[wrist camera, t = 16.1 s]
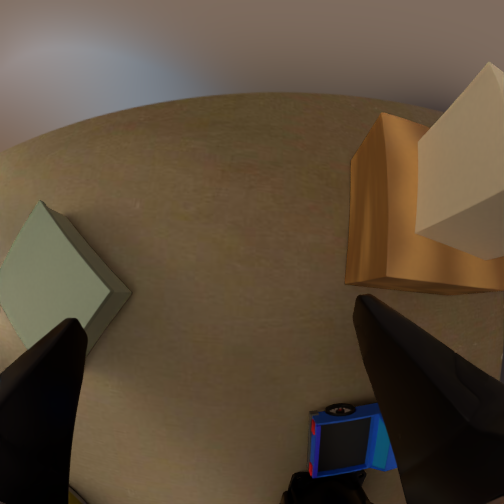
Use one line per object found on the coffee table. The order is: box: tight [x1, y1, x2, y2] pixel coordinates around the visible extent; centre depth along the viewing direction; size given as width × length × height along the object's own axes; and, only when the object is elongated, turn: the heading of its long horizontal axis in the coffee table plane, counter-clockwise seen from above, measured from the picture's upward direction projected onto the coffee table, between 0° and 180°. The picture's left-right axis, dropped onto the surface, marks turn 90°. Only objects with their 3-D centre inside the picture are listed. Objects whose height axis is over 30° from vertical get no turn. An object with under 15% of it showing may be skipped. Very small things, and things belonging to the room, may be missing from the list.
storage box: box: [0, 200, 132, 356], centre depth 18 cm, size 10×9×4 cm
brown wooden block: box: [345, 112, 504, 295], centre depth 17 cm, size 10×10×7 cm
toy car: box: [307, 403, 398, 478], centre depth 15 cm, size 7×12×5 cm, turn 92°
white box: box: [415, 62, 504, 260], centre depth 9 cm, size 6×6×8 cm
